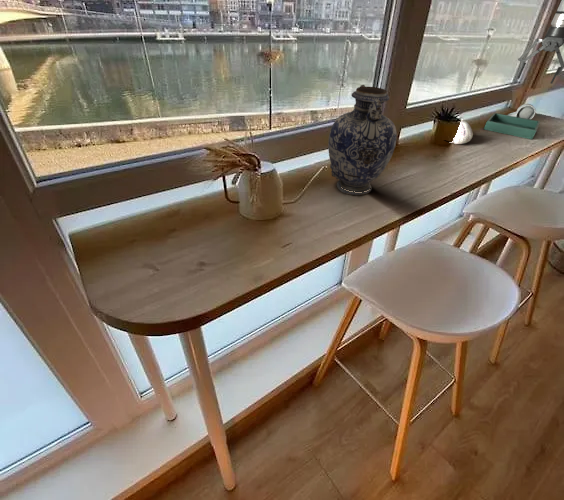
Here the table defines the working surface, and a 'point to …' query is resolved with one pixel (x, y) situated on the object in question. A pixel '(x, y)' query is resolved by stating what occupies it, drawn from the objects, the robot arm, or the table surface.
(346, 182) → the decorative vase
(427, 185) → the table surface
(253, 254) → the table surface
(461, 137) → the sea urchin shell
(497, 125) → the tray
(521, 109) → the ceramic mug
